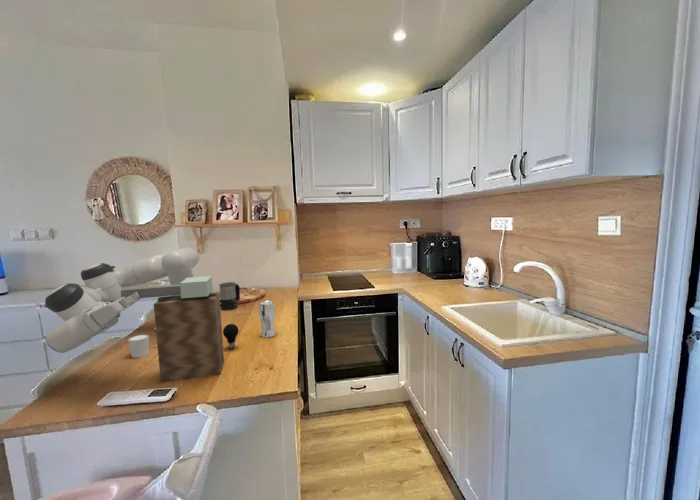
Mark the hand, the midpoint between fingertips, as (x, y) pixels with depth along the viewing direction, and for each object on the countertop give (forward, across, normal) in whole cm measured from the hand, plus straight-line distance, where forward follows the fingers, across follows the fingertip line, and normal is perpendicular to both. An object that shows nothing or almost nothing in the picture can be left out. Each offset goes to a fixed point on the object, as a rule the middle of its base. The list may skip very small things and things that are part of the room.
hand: (143, 291), depth 103 cm
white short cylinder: (-24, -22, -20) cm, 38 cm away
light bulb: (+6, -17, -38) cm, 42 cm away
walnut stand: (-3, 0, -32) cm, 32 cm away
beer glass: (+18, -27, -45) cm, 55 cm away
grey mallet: (+5, 0, -6) cm, 8 cm away
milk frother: (-3, -83, -33) cm, 90 cm away
